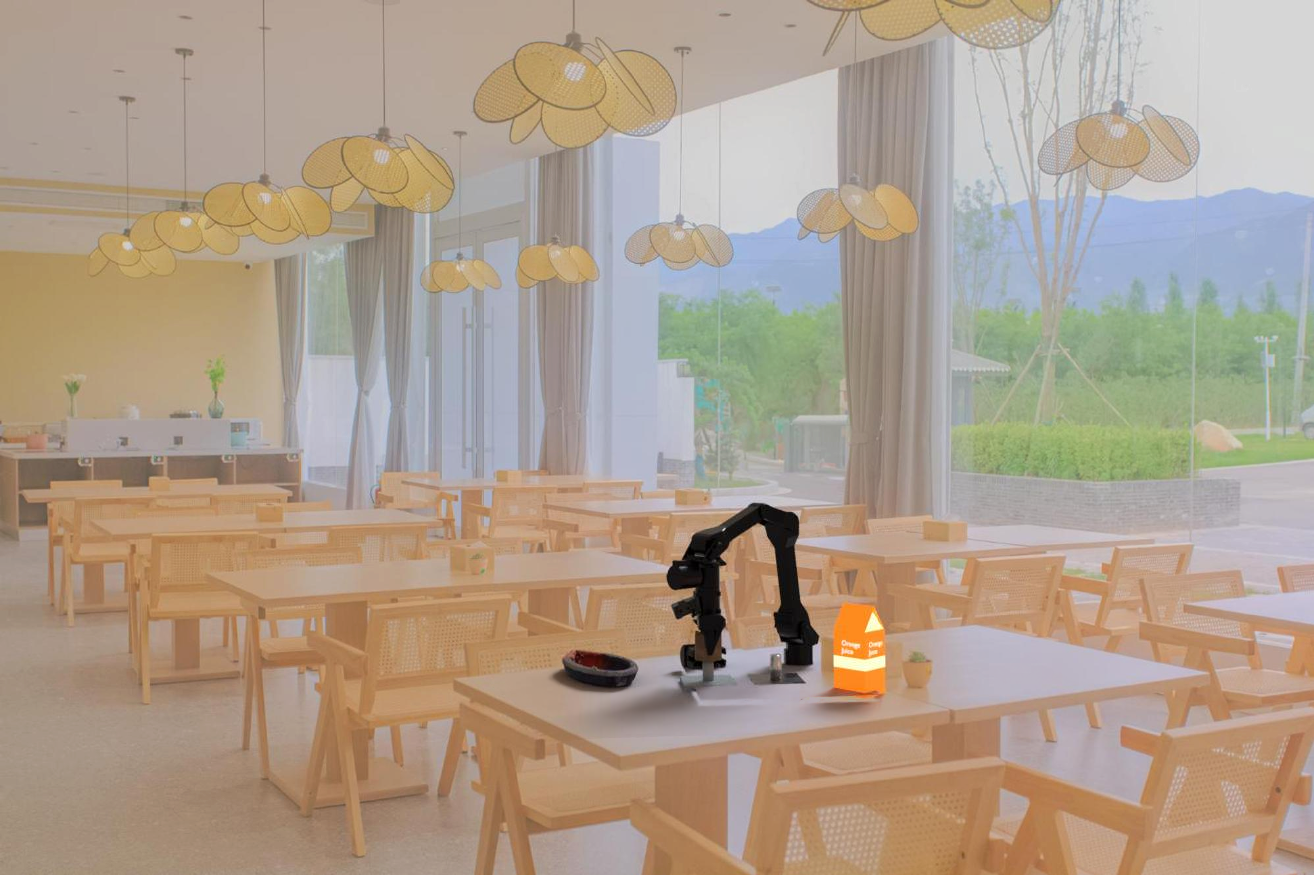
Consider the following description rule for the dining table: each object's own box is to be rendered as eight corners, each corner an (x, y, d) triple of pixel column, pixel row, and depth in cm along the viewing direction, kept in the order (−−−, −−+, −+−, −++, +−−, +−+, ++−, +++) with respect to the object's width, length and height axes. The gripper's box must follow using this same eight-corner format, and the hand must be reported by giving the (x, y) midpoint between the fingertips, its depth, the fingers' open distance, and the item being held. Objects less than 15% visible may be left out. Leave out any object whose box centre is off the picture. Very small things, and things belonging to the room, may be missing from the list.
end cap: (716, 666, 314) (716, 640, 314) (728, 671, 308) (727, 644, 308) (679, 669, 311) (679, 642, 311) (690, 675, 304) (690, 647, 304)
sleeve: (719, 656, 294) (719, 628, 294) (722, 661, 288) (722, 632, 288) (694, 656, 294) (693, 629, 294) (696, 661, 288) (696, 633, 288)
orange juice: (854, 687, 288) (853, 600, 287) (885, 693, 281) (885, 604, 281) (833, 692, 282) (832, 604, 282) (865, 698, 276) (864, 608, 276)
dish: (591, 693, 285) (591, 671, 285) (548, 669, 313) (548, 649, 313) (653, 687, 291) (653, 665, 291) (606, 664, 320) (606, 645, 319)
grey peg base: (730, 679, 298) (730, 650, 298) (737, 690, 286) (737, 659, 286) (680, 680, 297) (680, 651, 297) (685, 691, 285) (684, 660, 285)
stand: (796, 678, 299) (796, 649, 299) (806, 688, 287) (806, 658, 287) (746, 679, 298) (746, 650, 298) (754, 689, 286) (754, 660, 286)
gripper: (669, 582, 300) (670, 646, 300) (676, 592, 281) (677, 661, 281) (715, 581, 301) (716, 645, 301) (725, 591, 282) (726, 660, 282)
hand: (708, 653), depth 291 cm, fingers closed on sleeve, 6 cm apart
